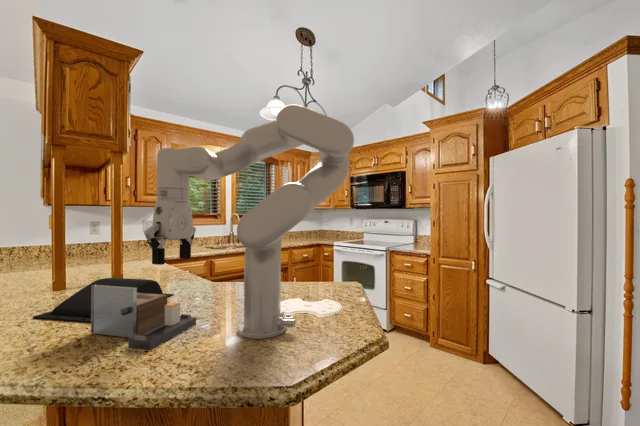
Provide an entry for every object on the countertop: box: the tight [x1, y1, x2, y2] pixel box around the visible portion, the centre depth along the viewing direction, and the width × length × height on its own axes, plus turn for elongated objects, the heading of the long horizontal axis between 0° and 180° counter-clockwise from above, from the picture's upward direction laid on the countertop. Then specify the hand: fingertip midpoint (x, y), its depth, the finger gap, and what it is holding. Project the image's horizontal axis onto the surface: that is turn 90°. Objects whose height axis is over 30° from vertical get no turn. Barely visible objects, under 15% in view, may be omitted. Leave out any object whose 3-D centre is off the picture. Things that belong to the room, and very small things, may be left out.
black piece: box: [32, 277, 175, 324], centre depth 99 cm, size 24×8×30 cm
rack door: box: [90, 285, 137, 339], centre depth 73 cm, size 13×2×12 cm, turn 77°
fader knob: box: [165, 301, 181, 326], centre depth 77 cm, size 2×3×5 cm
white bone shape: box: [281, 297, 342, 317], centre depth 97 cm, size 20×2×25 cm
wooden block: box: [136, 293, 168, 335], centre depth 79 cm, size 13×10×8 cm
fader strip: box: [127, 313, 197, 351], centre depth 75 cm, size 6×16×3 cm, turn 167°
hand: (172, 261), depth 77 cm, fingers open, 9 cm apart
